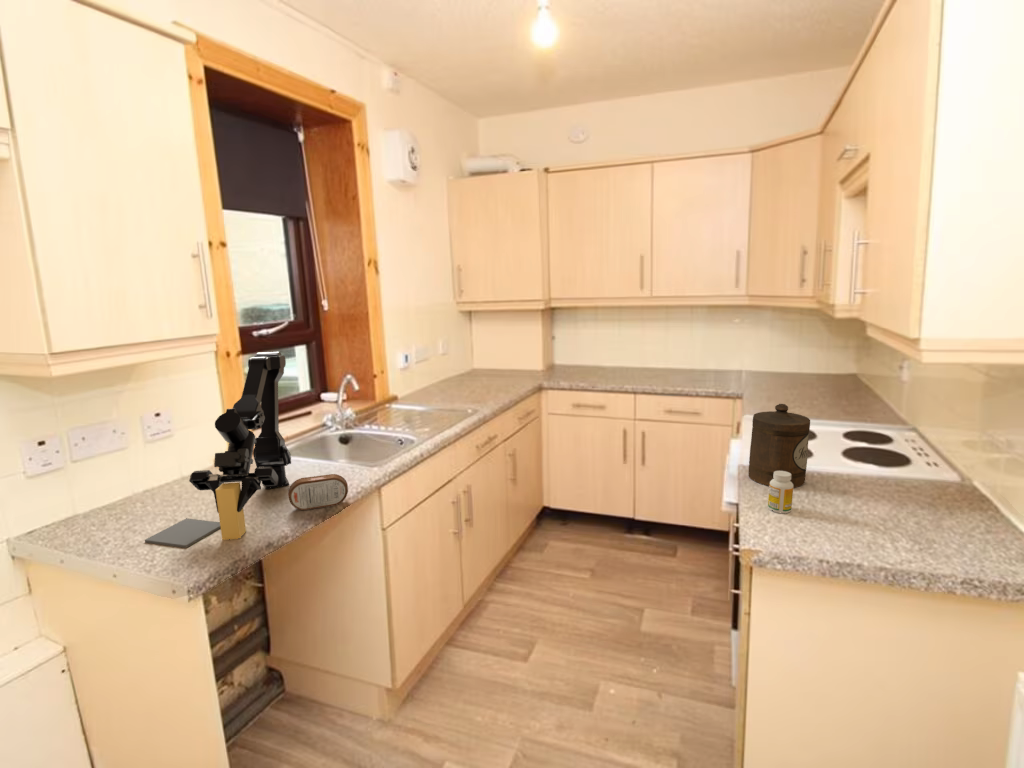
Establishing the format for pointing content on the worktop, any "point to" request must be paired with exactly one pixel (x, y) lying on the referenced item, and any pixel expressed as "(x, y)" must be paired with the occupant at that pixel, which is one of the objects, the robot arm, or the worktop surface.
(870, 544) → the worktop surface
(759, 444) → the wooden container
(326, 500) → the tin
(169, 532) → the charcoal mat
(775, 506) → the supplement bottle
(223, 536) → the ochre post
